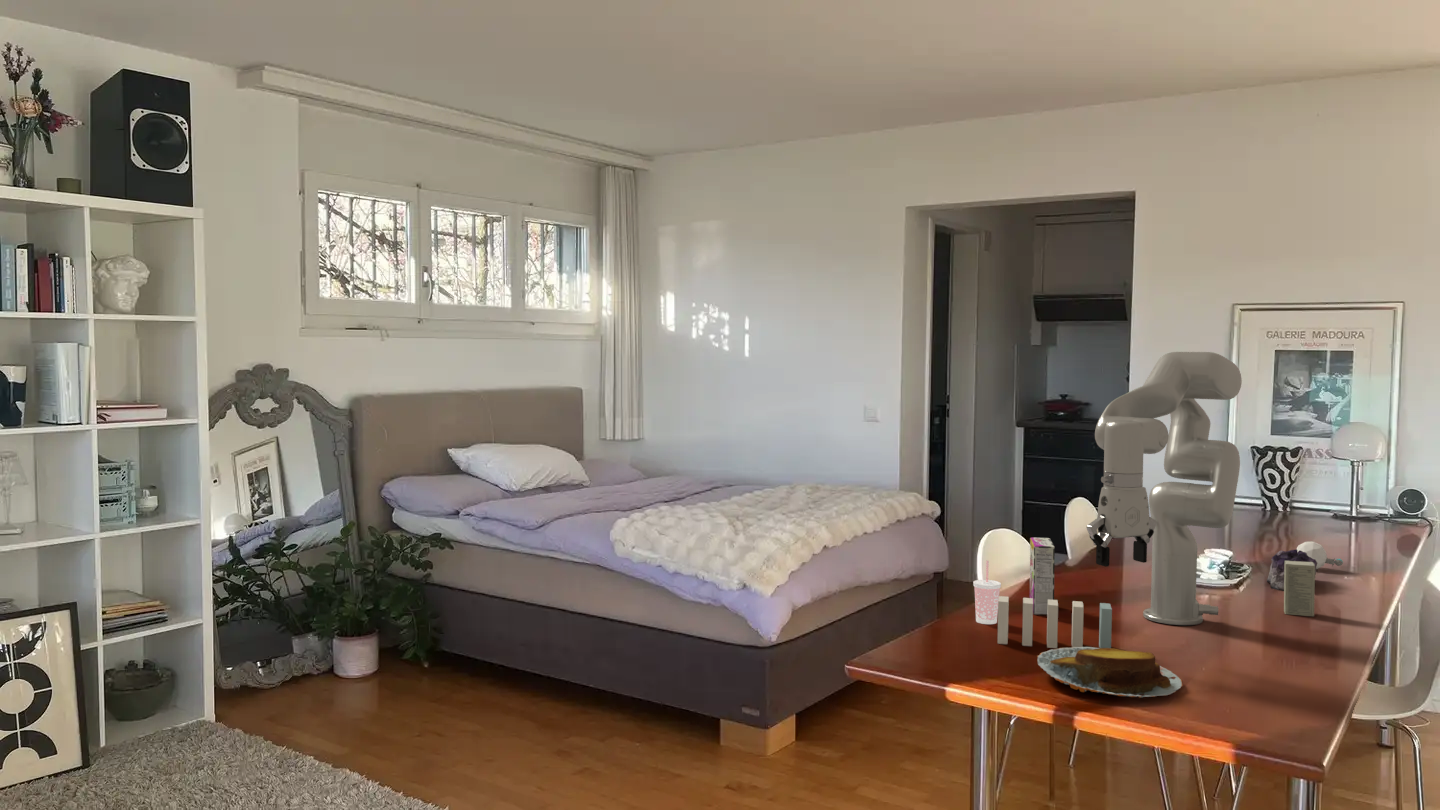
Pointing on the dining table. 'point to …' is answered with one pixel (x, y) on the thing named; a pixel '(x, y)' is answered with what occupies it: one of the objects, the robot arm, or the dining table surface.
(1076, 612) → the domino
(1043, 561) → the candy bar box
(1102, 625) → the domino
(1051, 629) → the domino
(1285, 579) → the skincare box
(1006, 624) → the domino
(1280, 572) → the geode
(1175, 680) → the food on plate
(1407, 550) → the dining table surface
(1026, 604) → the domino
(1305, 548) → the perfume bottle
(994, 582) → the beverage cup
